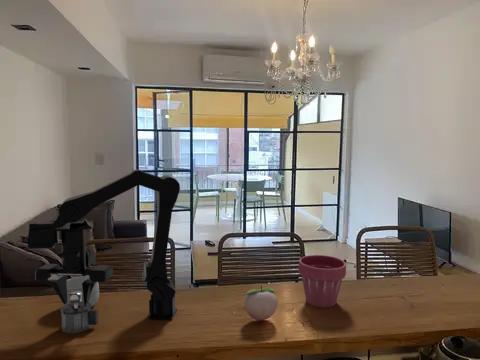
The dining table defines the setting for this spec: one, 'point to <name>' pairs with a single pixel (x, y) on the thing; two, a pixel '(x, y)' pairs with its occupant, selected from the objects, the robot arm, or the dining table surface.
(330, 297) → the plant pot
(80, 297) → the plunger
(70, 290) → the teacup
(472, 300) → the dining table surface
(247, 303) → the decorative fruit
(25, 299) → the dining table surface
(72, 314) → the octagonal grey mug
